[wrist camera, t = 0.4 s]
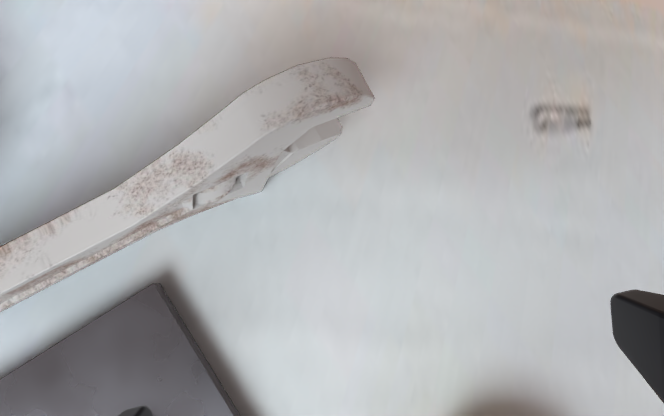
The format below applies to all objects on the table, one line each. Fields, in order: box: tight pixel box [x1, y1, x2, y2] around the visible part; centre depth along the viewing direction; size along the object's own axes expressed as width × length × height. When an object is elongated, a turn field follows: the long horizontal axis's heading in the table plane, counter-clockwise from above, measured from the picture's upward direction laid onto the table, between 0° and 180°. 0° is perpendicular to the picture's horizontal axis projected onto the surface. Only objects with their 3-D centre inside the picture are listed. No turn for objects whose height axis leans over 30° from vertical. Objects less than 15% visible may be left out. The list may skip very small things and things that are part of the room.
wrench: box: [0, 58, 375, 312], centre depth 19 cm, size 8×2×30 cm
